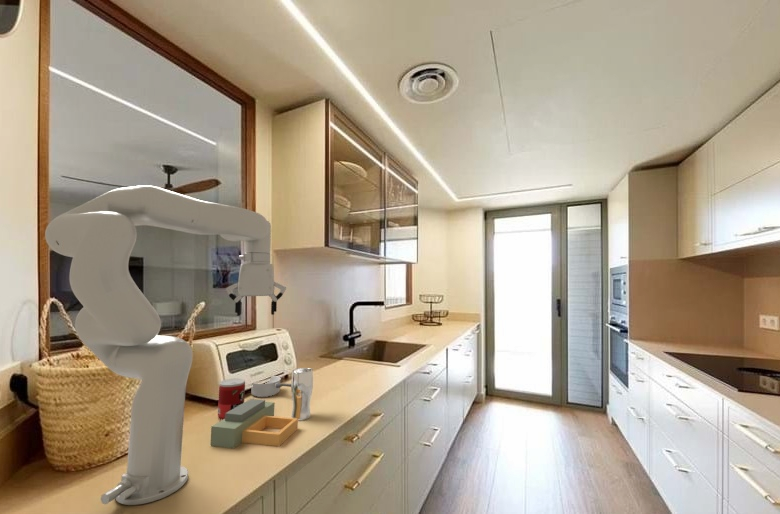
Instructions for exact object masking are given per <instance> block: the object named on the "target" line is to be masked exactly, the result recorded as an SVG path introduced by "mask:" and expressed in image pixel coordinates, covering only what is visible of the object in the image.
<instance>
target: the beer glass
mask: <svg viewBox="0 0 780 514" xmlns="http://www.w3.org/2000/svg"><path fill="white" fill-rule="evenodd" d="M290 384H291V387H290V389H291V399H292V413H291V416H290V418H298V422H299V421H307V420H308V419H310V418H311V408H310V407H311V406H310V405H311V397H312V394H313V386H314V372H313V369H312V368H310V367H298V368H295V369H293V370H292V373H291V382H290Z"/></svg>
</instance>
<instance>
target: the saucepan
mask: <svg viewBox="0 0 780 514" xmlns="http://www.w3.org/2000/svg"><path fill="white" fill-rule="evenodd" d="M270 376H271V378H270V381H269V382H267V383H265V384H258V383H253V382H251V386H252V385H253V387H252V388H250V389H251V391H250V392H251V393H250V394H251V395H252V396H254V397H256V396H257V397H256V398H269V397H268V396H270V397H273V396H275V395H276V394H278V393H279V392H280V391H281V388H282V387H288V388H289V387H290V388H291V383H287V382H282V383H281V380H282V377H281V376H277V375H270ZM274 394H275V395H274ZM272 395H273V396H272Z"/></svg>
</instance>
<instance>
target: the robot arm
mask: <svg viewBox="0 0 780 514" xmlns="http://www.w3.org/2000/svg"><path fill="white" fill-rule="evenodd" d="M138 226H139V227H140V226H150V227H157V228H162V229H169V230H173V231H179V232H182V233H188V234H193V235H204V236H210V235H212V236H213V235H214V236H215V235H220V237H221V238H223V240H226V241H230V242H241V241H242V242H244V253H243V254H242V255H238V259H239V260H241V261H243V263H241V264H240V267H239V271H238V272H239V273H238V274H239V275H238V282H235V283H233V284H232V285H230V286H228V287H225V292H226V293H227V295H228V296H229V298H230V299H231V300H232V301H233V302H234V303H235V304H234V306H235V309H234V313H236V316H238V317H239V316H242V310H243V309H242V308H243V307H242V305H243V304H242V303H243V302H242V299H244V297H268V296H269V297H270V299H271V300H272V301H271V303H270V305H271V306H270V307H271V308H270V310H271V311H270V314H271V315H272V316H273V315H275V312H277V311H278V310H277V308H278V307H277V303H278V300H280V299H281V297H283V295H284V294H285V292H286V290H287V287H286V286H284V285H282V284H280V283H278V282H277V281H275V273H274V266H273V263H271V248H272V247H271V245H272V244H271V243H272V242H271V241H272V238H271V237H272V236H271V233H272V226H271V222H270V221H269V220H267V219H266V218H265V216H264V215H262V214H261V213H259V212H256V211H252V210H250V209H248V208H245V207H238V206H233V205H226V204H222V203H217V202H212V201H211V202H210V201H205V200H200V199H197V198H195V197H191V196H188V195H184V194H181V193H178V192H175V191H173V190H172V191H171V190H169V189H165V188H162V187H159V186H154V185H147V184H146V185H145V184H144V185H136V186H135V185H134V186H127V187H120V188H119V187H118V188H114V189H112V190H110V191H107V192H105V193H102V194H101V195H98V196H97V197H95V198H93V199H91V200H89V201H86V202H84V203H82V204H81V205H78V206H76V207H74V208H72V209H70V210H68V211H66V212H64V213H61V214H59V215H58V216H56V217H54V219H52V220H51V221H50V222H49V223H48V225H47V226H46V228H45V233H44V238H45V241H46V244H47V245H48V246H49V248H50V249H51V250H52V251H54V252H55V253H57V254H59V255H61V256H65V257H70V258H72V259H71V263H70V269H69V278H68V279H69V285H70V289H71V291H72V293H73V295H74V296H75V298H76V299H77V300H78V301H79V303H80V304H81V305H82V306H83V307H82V308H81V309H80V310H79V312H78V313H77V315H76V317H75V322H74V325H75V326H74V327H75V332H76V334H77V336H78V338H79V339H80V341H82V343H83V344H84V345H85V346H86V347H87V349H89V350H90V351H91V352H92V354H93V355H94V356H95V357H97V359H99V360H100V361H101V363H103V364H104V366H105V367H107V368H108V370H110V371H112V372H113V373H114V374H116V375H117V376H121V377H125V378H130V379H138V380H141V382H140V385H139V386H138V389H137V390H136V392H135V395H134V397H133V399H132V404H131V411H130V423H129V425H130V427H129V439H128V449H127V450H128V452H127V464H126V473H123V474H122V475H121V478H120V481H119V483H117V484H116V486H115V487H112V488H111V489H110V490H108V491H106V492H104V493H103V494H102V495H101V496H100V502H101V503H102V504H103V505H108V504H109V503H111V502H112V501H114V500H116V502H117V503H119V504H122V505H124V506H125V505H127V506H136V505H137V506H138V505H143V504H144V505H145V504H149V503H152V502H153V503H154V502H156V501H158V500H162V499H164V498H166V497H168V496H170V495H172V494H174V493H175V492H177V491H178V490H179V489H181V488H182V487H183V486H184V485H185V484H186V482H187V481H188V479H189V471H188V469H187V468H186V467H185V466H183V465H181V464H182V449H183V437H184V436H183V434H184V418H185V417H184V416H185V403H186V402H185V401H186V390H187V389H186V388H187V383H188V377H189V374H190V370H191V368H192V363H193V359H194V358H193V357H194V354H193V349H192V347H191V345H190V343H188V341H186V340H184V339H183V338H181V337H177V336H173V335H160V334H159V333H160V330H161V328H162V321H161V318H160V315H159V314H158V311H157V309H155V307H154V306H153V305H152V303H150V301H149V300H148V298H147V297H146V296H145V295H144V293H143V292H142V290H141V289H139V287H138V285H137V284H136V282H135V281H134V279H133V277H132V276H131V273H130V270H129V261H130V258H131V254H132V251H133V249H134V247H135V244H136V242H137V235H138V233H137V228H136V227H138ZM236 288H237V294H238V295H236V294H234V292H233V290H235V289H236ZM275 288H277V289H279V293H278V294H277V295H275Z"/></svg>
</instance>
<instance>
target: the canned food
mask: <svg viewBox="0 0 780 514" xmlns="http://www.w3.org/2000/svg"><path fill="white" fill-rule="evenodd" d="M245 389H246V379H244V378H239V377H238V378H227V379H224V380H222V381H220V382H219V385H218V400H217V401H218V403H217V404H218V405H217V417H218V419H220V420H221V419H222V420H223V419H225V413H227V412H228V411H230V410H232V409H234V408H236V407H237V406H239V405H241V404H243V403H244V402H245V395H246V393H245V392H246V390H245Z"/></svg>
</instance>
